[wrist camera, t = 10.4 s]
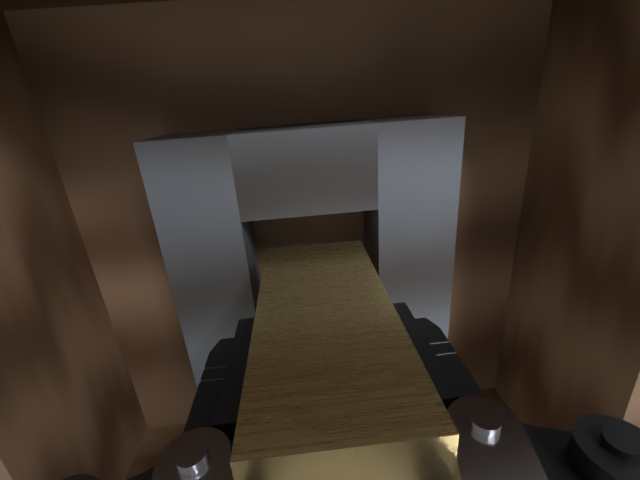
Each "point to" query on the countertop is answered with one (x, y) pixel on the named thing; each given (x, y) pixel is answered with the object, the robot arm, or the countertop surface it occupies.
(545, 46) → the walled box
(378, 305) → the tan wooden block
